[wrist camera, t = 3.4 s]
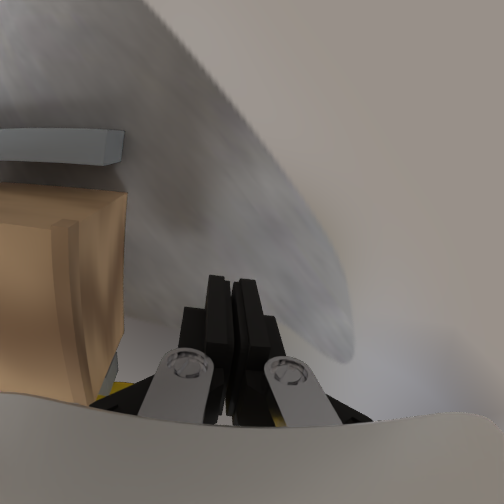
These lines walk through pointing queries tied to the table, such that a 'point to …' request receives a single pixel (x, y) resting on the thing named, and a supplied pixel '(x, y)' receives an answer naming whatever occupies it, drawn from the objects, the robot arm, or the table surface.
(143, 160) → the table surface
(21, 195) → the block
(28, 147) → the bay
